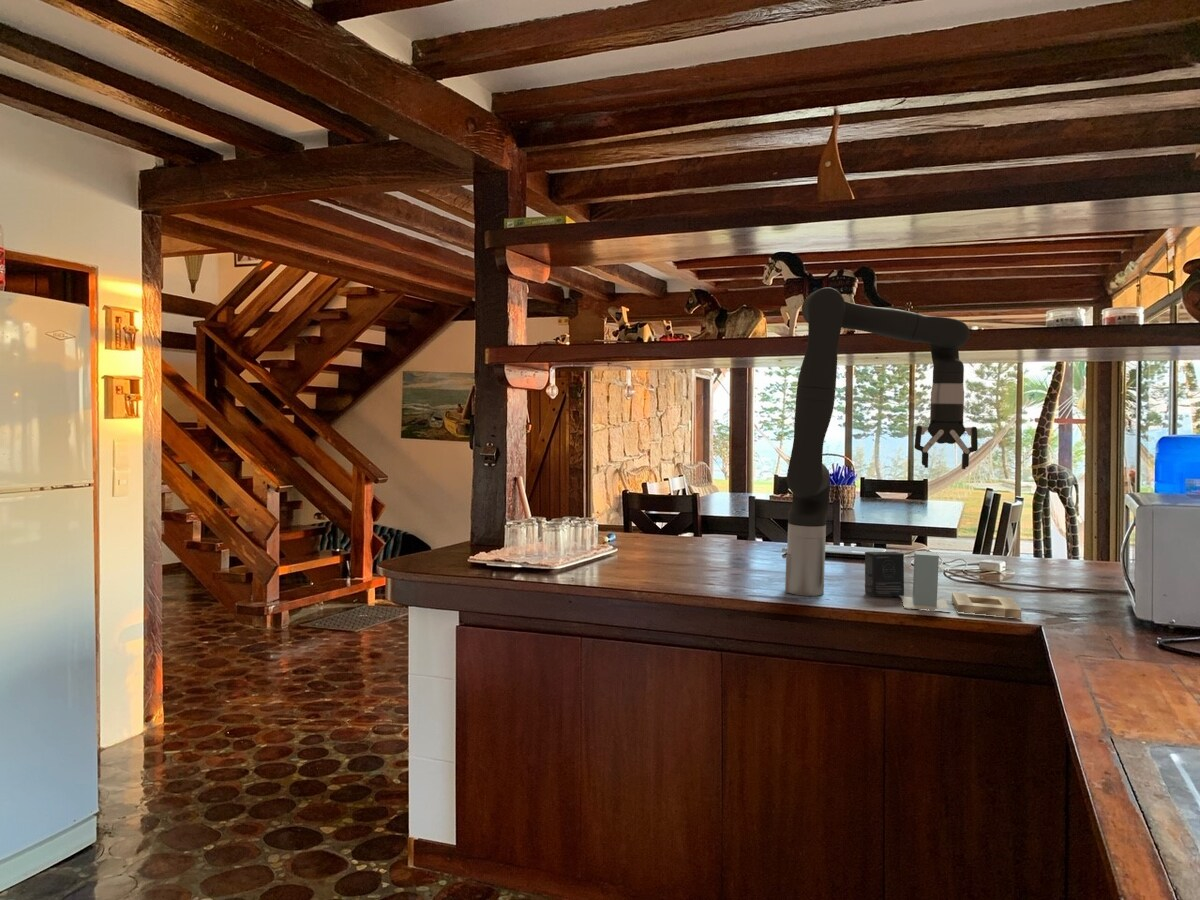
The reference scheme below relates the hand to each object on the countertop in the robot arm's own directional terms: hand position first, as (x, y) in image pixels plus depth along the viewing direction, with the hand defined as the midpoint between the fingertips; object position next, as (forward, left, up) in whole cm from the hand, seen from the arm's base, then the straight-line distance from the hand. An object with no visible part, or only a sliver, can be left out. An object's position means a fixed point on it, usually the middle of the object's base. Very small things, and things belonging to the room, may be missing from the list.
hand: (944, 468), depth 203 cm
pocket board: (+9, -11, -32) cm, 35 cm away
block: (-4, -11, -32) cm, 34 cm away
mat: (-4, -11, -32) cm, 34 cm away
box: (-13, -4, -32) cm, 35 cm away
